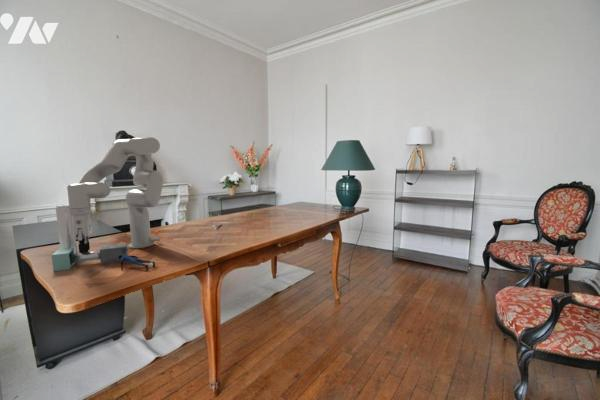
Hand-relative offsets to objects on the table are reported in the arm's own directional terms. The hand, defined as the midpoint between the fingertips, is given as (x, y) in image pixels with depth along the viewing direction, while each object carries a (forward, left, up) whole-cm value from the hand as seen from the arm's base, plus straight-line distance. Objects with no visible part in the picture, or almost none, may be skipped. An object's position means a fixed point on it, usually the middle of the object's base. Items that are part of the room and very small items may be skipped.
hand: (84, 251), depth 126 cm
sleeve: (-11, 0, -6) cm, 13 cm away
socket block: (+7, 0, -6) cm, 10 cm away
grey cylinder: (+11, -22, -6) cm, 25 cm away
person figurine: (-21, +14, -7) cm, 26 cm away
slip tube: (-2, 0, -5) cm, 5 cm away
